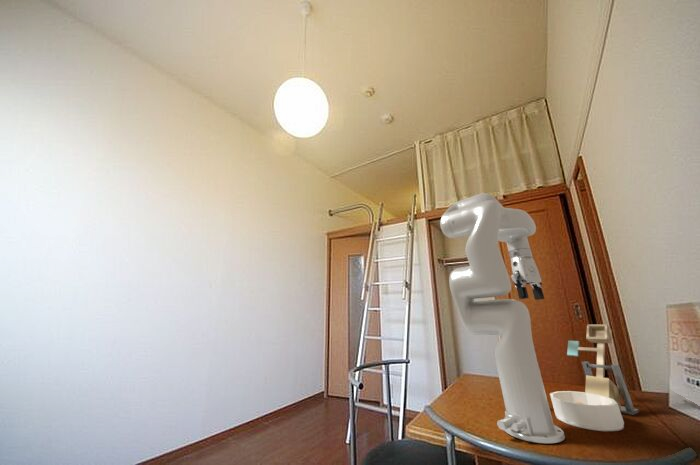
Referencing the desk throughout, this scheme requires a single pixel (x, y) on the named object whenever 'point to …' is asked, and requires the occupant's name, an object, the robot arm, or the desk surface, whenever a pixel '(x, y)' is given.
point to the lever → (598, 383)
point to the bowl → (587, 410)
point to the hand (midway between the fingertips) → (532, 298)
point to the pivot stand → (621, 384)
